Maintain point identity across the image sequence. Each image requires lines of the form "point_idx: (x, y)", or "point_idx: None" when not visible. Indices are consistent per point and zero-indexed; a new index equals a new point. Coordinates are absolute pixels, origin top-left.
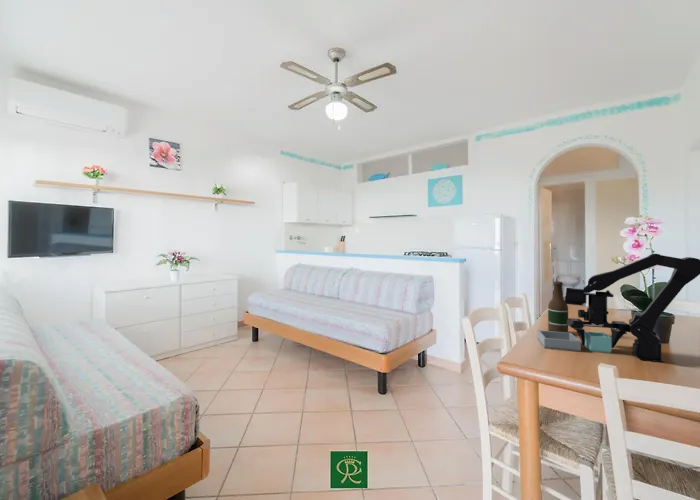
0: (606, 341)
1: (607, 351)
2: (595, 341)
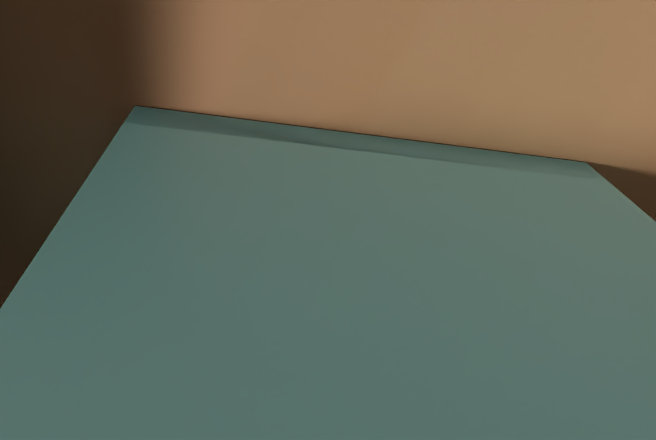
0: None
1: None
2: None
